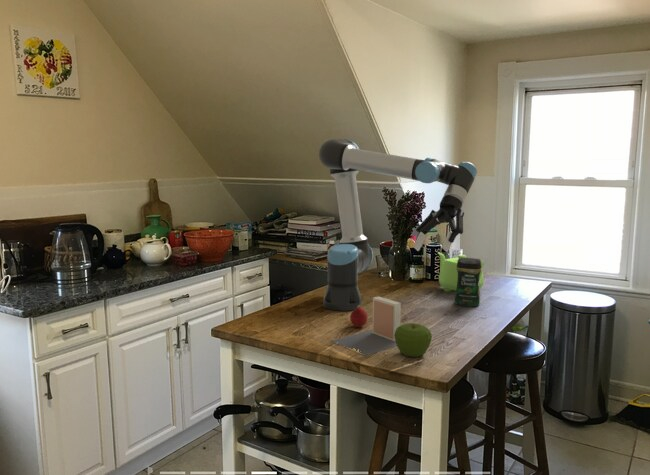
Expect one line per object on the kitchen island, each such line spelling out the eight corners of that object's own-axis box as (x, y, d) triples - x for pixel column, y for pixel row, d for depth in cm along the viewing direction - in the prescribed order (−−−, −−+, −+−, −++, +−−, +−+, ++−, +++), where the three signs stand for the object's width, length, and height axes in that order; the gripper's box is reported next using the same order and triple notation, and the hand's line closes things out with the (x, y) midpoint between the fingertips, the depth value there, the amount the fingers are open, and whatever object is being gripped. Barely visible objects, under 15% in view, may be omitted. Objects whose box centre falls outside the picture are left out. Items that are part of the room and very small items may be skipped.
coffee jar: (453, 305, 212) (455, 259, 209) (455, 300, 220) (457, 255, 217) (479, 308, 209) (481, 260, 206) (480, 302, 216) (482, 257, 214)
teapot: (501, 292, 233) (503, 255, 230) (467, 299, 221) (469, 261, 218) (457, 280, 253) (458, 247, 251) (423, 287, 241) (424, 252, 239)
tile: (377, 331, 180) (378, 296, 178) (399, 339, 172) (400, 303, 170) (371, 333, 178) (372, 297, 176) (393, 341, 170) (394, 304, 169)
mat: (384, 327, 186) (384, 326, 186) (419, 340, 173) (419, 338, 173) (330, 342, 171) (330, 341, 171) (364, 357, 158) (364, 355, 158)
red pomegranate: (362, 332, 181) (362, 309, 180) (347, 329, 184) (347, 306, 183) (370, 327, 186) (370, 304, 185) (355, 324, 189) (355, 302, 188)
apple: (393, 361, 156) (393, 328, 154) (394, 348, 166) (395, 317, 164) (431, 364, 154) (432, 330, 152) (430, 350, 164) (431, 319, 163)
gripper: (486, 204, 188) (464, 256, 181) (433, 207, 208) (411, 254, 201) (475, 191, 184) (451, 243, 177) (421, 196, 204) (398, 243, 198)
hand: (429, 249), depth 189 cm, fingers open, 13 cm apart
